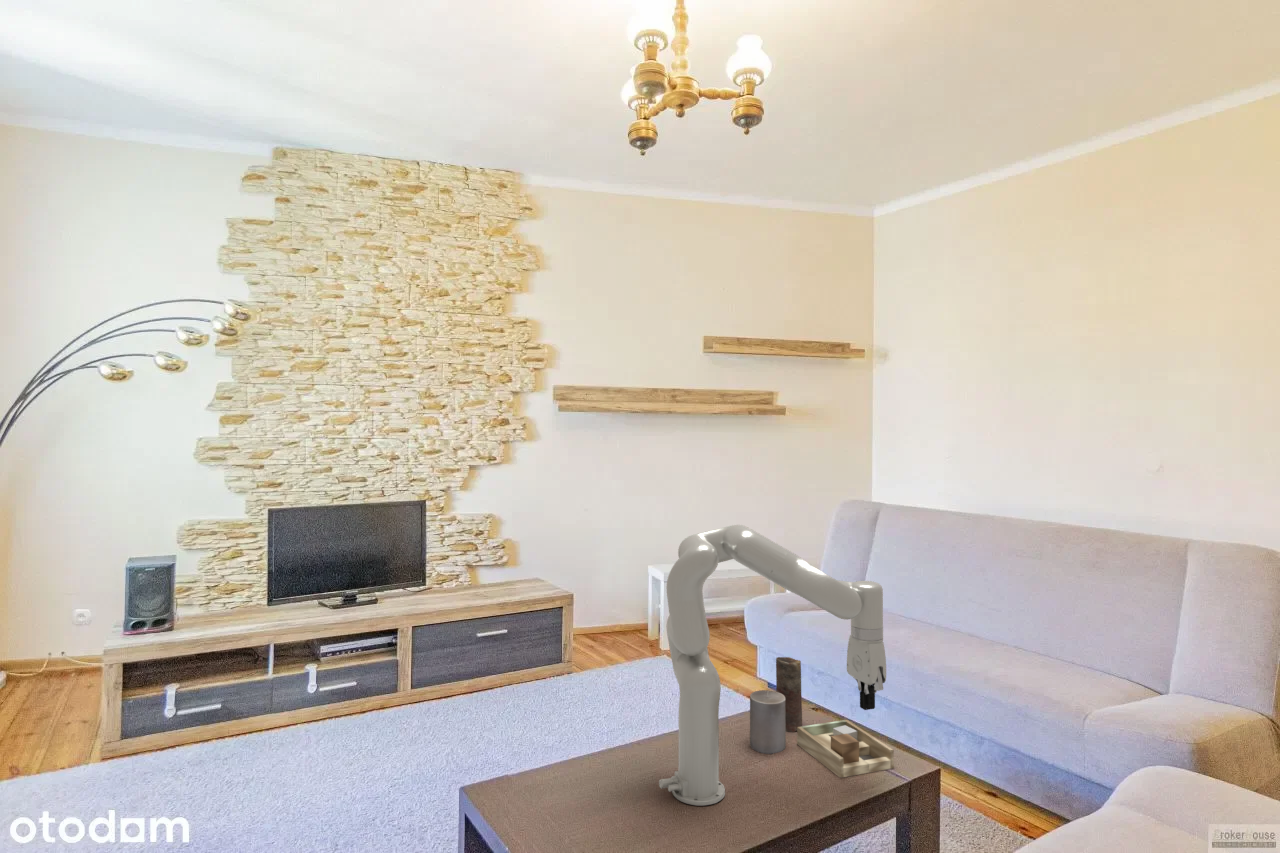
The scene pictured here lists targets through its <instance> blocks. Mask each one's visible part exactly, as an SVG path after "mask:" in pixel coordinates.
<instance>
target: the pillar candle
mask: <svg viewBox="0 0 1280 853" xmlns="http://www.w3.org/2000/svg"><path fill="white" fill-rule="evenodd" d="M785 711H786V710H785V696H784V695H783V694H781V693H779V692H776V691H775V690H770V689H768V690H767V689H762V690H761V689H760V690H756V691H752V693H750V694H749V746H750V747H751V749H752V750H753V751H755V752H757V753H761V754H766V755H767V754H769V755H773V754H777V753H781V752H783V751H784V750H785V749H786V747H787V746H786V741H787V740H786V736H787V735H786V733H787V732H786V723H785V713H786V712H785Z"/></svg>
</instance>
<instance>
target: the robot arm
mask: <svg viewBox="0 0 1280 853" xmlns="http://www.w3.org/2000/svg"><path fill="white" fill-rule="evenodd" d="M677 550H678V551H677V555H678V559H677V560H676V561H675V563H674V564H673V566H672V567H671V569H670V571H669V574H668V577H667V580H666V598H667V606H668V618H667V620H666V635H667V642H668V647H669V651H670V659H671V664H672V669H673V674H674V676H675V678H676V682H677V684H678V686H679V687H678V688H679V702H678V716H677V717H678V720H677V721H678V724H677V726H678V770H675V771H674V775H673V776H671V777H669V778H661V779H659V780H658V786H659V789H667V791H668V792H671V793H672V795H673V797H674V799H676V800H678V801H679V802H682V803H684V804H687V805H690V806H699V807H700V806H710V805H714V804H717V803H718V802H720V801H722V800H723V799H724V797H725V795H726V786H724V784H723V783H722V782H721V781H720V780H719V779H720V778H719V768H720V767H719V757H720V756H719V751H720V750H719V746H720V745H719V740H720V739H719V733H720V732H719V731H720V729H719V713H720V712H719V711H720V708H719V707H720V699H721V688H722V687H721V680H720V674H719V673H718V672H719V671H718V670H717V668H716V667H715V665H714V663H713V662H712V660H711V658H710V655H709V654H710V653H709V648H708V646H709V643H710V639H711V638H710V635H711V634H710V628H709V623H708V620H707V615H706V614H707V613H706V609H705V604H704V595H703V594H704V593H703V588H704V584H705V582H706V580H707V579H708V578H709V577H710V576H711V575H712V574H713V573H714V572H715V571H716V569H717V567H718V565H719V564H720V563H724V562H728V561H730V560H734V561H736V562H738V563H740V564H741V565H742V566H744V567H746V568H747V569H749V570H751V571H753V572H755V573H757V574H758V575H760V576H761V577H764V578H765V579H767V580H770V581H771V582H773V583H774V584H776V585H778V586H779V587H781V588H784V590H786V591H788V592H790V593H793V594H795V595H797V596H799V597H802V598H803V599H805V600H806V601H809V602H810V603H812V604H814V605H815V606H817V607H818V608H821V609H823V610H824V611H826V612H828V613H829V614H830V615H833V616H834V617H836V618H838V619H840V620H844V621H845V620H850V634H849V637H848V642H847V648H846V649H847V650H846V651H847V653H846V672H847V674H848V675H849V676H850V677H852V678H853V679H854V680H855V681H856V682H857V688H858V690H859V708H860V709H862V710H864V711H868V710H874V709H875V708H876V694H877V692H878V691H884V684H885V683H886V681H887V659H886V658H887V657H886V650H885V643H884V593H883V592H884V591H883V590H884V589H883V586H882V585H881V584H880V583H878V582H876V581H872V580H858V581H845V580H837V579H835V578H833V577H832V576H831V575H828V574H826V573H825V572H823V570H821V569H819V568H817V567H815V566H814V565H812V564H811V563H809V562H808V561H807V560H806V559H804V558H802V557H801V556H799V555H798V554H796V553H794V552H792V551H791V550H789V549H787V548H785V547H784V546H782V545H780V544H779V543H777V542H774V541H773V540H771V539H769V538H768V537H766V536H764V535H763V534H760V533H759V532H757V531H756V530H754V529H751V528H749V527H747V526H745V525H743V524H734V525H733V524H732V525H729V526H725V527H720V528H717V529H712V530H708V531H704V532H699V533H696V534H691V535H689V536H687V537H686V538H684V539H683V540H682V541H681V542H680V544H679V546H678V549H677Z"/></svg>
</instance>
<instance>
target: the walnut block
mask: <svg viewBox="0 0 1280 853" xmlns="http://www.w3.org/2000/svg"><path fill="white" fill-rule="evenodd" d="M831 749H832V750H833V751H834V752H836V753H837V754H838V755H840V756H841V757H843V758H844V764H846V763H852V762H858V761H859V741H858V740H856V739H855V738H853V737H852V736H850V735H849V734H841V735H835V736H831Z"/></svg>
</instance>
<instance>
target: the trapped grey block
mask: <svg viewBox="0 0 1280 853" xmlns="http://www.w3.org/2000/svg"><path fill="white" fill-rule="evenodd" d="M841 734H849V735H850V736H852V737H853V738H855V739H856V740H857V731H856V730H854V729H852V728H850V727H848V726H846V725H844V726H840V727H836V728H833V736H835V735H841Z"/></svg>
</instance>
